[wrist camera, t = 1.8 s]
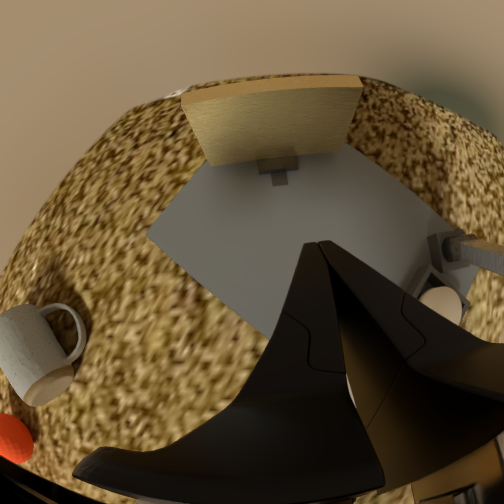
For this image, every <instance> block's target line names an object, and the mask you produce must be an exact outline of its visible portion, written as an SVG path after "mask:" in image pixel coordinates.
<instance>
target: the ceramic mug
mask: <svg viewBox="0 0 504 504" xmlns="http://www.w3.org/2000/svg"><path fill="white" fill-rule="evenodd" d="M61 309H64V310H68V311H69V312H70V313H71V315H72V316H73V318H74V320H75V322H76V326H77V332H78V333H79V334H78V338H79V339H78V343H77V345H76V348H75V349H74V350H73V352H72V353H71V354H70V355H69V356H68V357H67V355H66V354H65V352H64V350H63V349H62V347H61V346H60V344H59V343H58V341H57V339H56V337H55V335H54V333H53V331H52V329H51V327H50V326H49V324H48V322H47V320H46V318H45V316H46V315H47V314H49V313H51V312H53V311H56V310H61ZM85 344H86V329H85V325H84V323H83V321H82V319H81V317H80V316H79V314H78V313H77V312H76V311H75V310H74V309H72V308H71V307H70V306H68V305H66V304H62V303H54V304H50V305H47V306H45V307H43V308H41V309H40V308H39V307H37V306H35V305H32V304H23V305H18V306H15V307H13V308H10V309H9V310H7V311H5V312H4V313H2V314H1V315H0V367H1V368H2V370H3V372H4V373H5V375H6V377H7V378H8V380H9V382H10V384H11V385H12V387H13V388H14V390H15V391H16V393H17V394H18V395H19V397H20V398H21V399H22V400H23V401H24V402H25V403H26V404H27V405H29V406H34V407H37V406H41V405H43V404H46V403H48V402H49V401H51V400H53V399H54V398H56V397H57V396H59V395H60V394H61V393H62V392H63V391H64V390H65V389H66V388H67V387H68V386H69V385H70V384H71V382H72V381H73V378H74V369H73V367H72V365H71V363H72V362H73V361H75V360H76V359H77V358H78V357H79V355H80V354H81V352H82V351H83V349H84V347H85Z"/></svg>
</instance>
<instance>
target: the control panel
mask: <svg viewBox="0 0 504 504" xmlns="http://www.w3.org/2000/svg"><path fill="white" fill-rule="evenodd" d="M296 156H297V161H298V165H299V168H298V170H295V171H286V172H278V173H270V174H262V175H259V172H258V165H257V160H252V161H245V162H238V163H232V164H225V165H219V166H213V167H211V166H210V164H209V162H208V160H207V161H206V162H205V163H204V164H203V165H202V167H201V168H200V169H199V170H198V171H197V172H196V173H195V174H194V176H193V177H192V178H191V179H190V180H189V181H188V183H187V184H186V185H185V186H184V187H183V188H182V190H181V191H180V192H179V193H178V194H177V195H176V197H175V198H174V199H173V200H172V201H171V203H170V204H169V205H168V206H167V208H166V209H165V210H164V211H163V212H162V214H161V215H160V216H159V217H158V219H157V220H156V221H155V223H154V224H153V225H152V226H151V228H150V229H149V230H148V232H147V233H146V234H145V235H146V236H147V237H148V238H149V239H150V240H152V241H153V242H154V243H155V244H156V245H157V246H158V247H159V248H160V249H161V250H163V251H164V252H165V253H166V254H167V255H168V256H169V257H170V258H172V259H173V260H174V261H175V262H176V263H177V264H178V265H179V266H181V267H182V268H183V269H184V270H185V271H186V272H187V273H189V274H190V275H191V276H192V277H193V278H194V279H196V280H197V281H198V282H199V283H200V284H201V285H203V286H204V287H205V288H206V289H207V290H209V291H210V292H211V293H212V294H213V295H215V296H216V297H217V298H218V299H219V300H221V301H222V302H223V303H224V304H225V305H227V306H228V307H229V308H230V309H232V310H233V311H234V312H235V313H236V314H238V315H239V316H240V317H241V318H243V319H244V320H245V321H246V322H248V323H249V324H250V325H251V326H253V327H254V328H255V329H257V330H258V331H259V332H260V333H262V334H263V335H264V336H266V337H267V338H268V339H269V340H270V338H271V336H272V334H273V331H274V329H275V327H276V324H277V321H278V319H279V316H280V313H281V310H282V308H283V305H284V302H285V299H286V296H287V293H288V290H289V287H290V284H291V281H292V278H293V275H294V272H295V268H296V265H297V262H298V259H299V256H300V253H301V250H302V246H303V244H304V243H309V242H318V241H324V240H331V241H333V242H334V243H336V244H337V245H339V246H340V247H342V248H343V249H345V250H346V251H348V252H349V253H351V254H352V255H354V256H355V257H357V258H358V259H360V260H361V261H363V262H364V263H366V264H367V265H369V266H370V267H372V268H373V269H375V270H376V271H378V272H379V273H381V274H382V275H383V276H385V277H386V278H388V279H389V280H391V281H392V282H393V283H395V284H396V285H398V286H399V287H401V288H402V289H403V290H404V291H405V292H408V293H409V294H411V295H412V296H413V297H415V298H416V299H417V298H418V296H419V295H420V294H421V293H422V292H423V291H425V290H427V289H430V288H437V287H449V288H451V289H453V290H454V291H455V292H456V293H457V295H458V296H459V298H460V301H461V306H462V315H461V320H462V318H463V316H464V314H465V312H466V310H467V308H468V306H469V304H470V302H469V301H468V300H467V299H466V298H465V297H466V295H467V293H468V291H469V289H470V287H471V284H472V282H473V280H474V278H475V275H476V273H477V270H478V268H479V267H478V266H475V265H472V264H469V263H466V262H464V261H461V260H459V261H454V262H448V261H446V259H445V258H444V255H443V252H442V244H443V241H444V239H445V238H446V237H452V236H459V235H464V232H463V229H461V230H454V229H453V228H452V227H451V226H450V225H449V224H448V223H447V222H446V221H445V220H444V219H443V218H442V217H440V216H439V215H438V214H437V213H436V212H435V211H434V210H433V209H432V208H430V207H429V206H428V205H427V204H426V203H425V202H424V201H422V200H421V199H420V198H419V197H418V196H417V195H415V194H414V193H413V192H412V191H411V190H409V189H408V188H407V187H406V186H404V185H403V184H402V183H401V182H399V181H398V180H397V179H396V178H394V177H393V176H392V175H390V174H389V173H388V172H387V171H385V170H384V169H383V168H381V167H380V166H379V165H377V164H376V163H374V162H373V161H372V160H370V159H369V158H367V157H366V156H365V155H363V154H362V153H360V152H359V151H357V150H356V149H354V148H353V147H352V146H350V145H349V144H347V143H346V142H344V144H343V146H342V149H341V152H327V153H315V154H303V155H296ZM405 292H404V293H405ZM461 320H460V322H461ZM459 324H460V323H459ZM458 326H459V325H458Z"/></svg>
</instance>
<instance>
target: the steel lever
mask: <svg viewBox="0 0 504 504" xmlns="http://www.w3.org/2000/svg"><path fill="white" fill-rule="evenodd" d="M442 252H443V255H444V258H445V259H446V261H448V262H454V261H459V260H461V261H464V262H466V263H469V264H472V265H475V266H478V267H480V268H483V269H486V270H489V271H491V272H494V273H497V274H499V275H502V276H504V246H501V245H497V244H493V243H489V242H485V241H480V240H478V239H477V237H476V236H475V235H474V234H465V235H459V236H452V237H446V238H445V239H444V241H443V244H442Z"/></svg>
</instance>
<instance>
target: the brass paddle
mask: <svg viewBox="0 0 504 504" xmlns="http://www.w3.org/2000/svg"><path fill="white" fill-rule="evenodd" d="M363 88H364V87H363V85H362V83H361V81H360V79H359V77H358V76H355V75H316V76H295V77H282V78H271V79H262V80H253V81H246V82H239V83H232V84H226V85H221V86H215V87H210V88H205V89H200V90H195V91H191V92H187V93H182V100H181V107H182V109H183V111H184V113H185V115H186V117H187V119H188V121H189V123H190V125H191V127H192V129H193V131H194V133H195V135H196V137H197V139H198V141H199V143H200V145H201V148H202V150H203V152H204V154H205V156H206V158H207V160H208V162H209V164H210V166H211V167H213V166H219V165H225V164H232V163H238V162H245V161H252V160H257V165H258V172H259V175H262V174H270V173H278V172H286V171H295V170H298V168H299V165H298V161H297V156H296V155H303V154H315V153H327V152H341V149H342V146H343V144H344V141H345V138H346V136H347V133H348V130H349V127H350V125H351V122H352V119H353V116H354V114H355V111H356V108H357V105H358V102H359V99H360V97H361V94H362V91H363Z"/></svg>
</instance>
